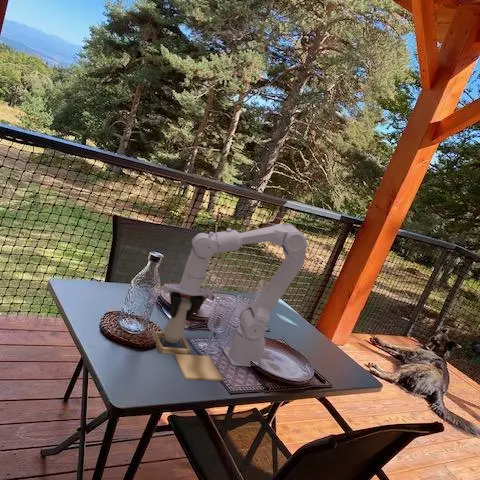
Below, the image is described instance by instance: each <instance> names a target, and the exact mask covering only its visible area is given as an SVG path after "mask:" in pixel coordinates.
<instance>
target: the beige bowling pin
mask: <svg viewBox="0 0 480 480" xmlns="http://www.w3.org/2000/svg"><path fill="white" fill-rule="evenodd" d="M181 299H182V301H181V302H180V304H179V306H178V309H177V312H176V315H175V317H174V318H172V317H171V316H170V318H169V320H168V321H167V323H166V325H165V327H164V329H163V332H164V338H163V339H165V341H167V342H168V343H170V344H176V343H177V344H178V342H180V341H179V340H180V339H181V338H182V337H184V334H185V326H186V322H187V321H186V319H187V318H186V314H187V310H189V309H190V308H191V305H192V304H191V301H189V300H188V299H185V298H181Z"/></svg>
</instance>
